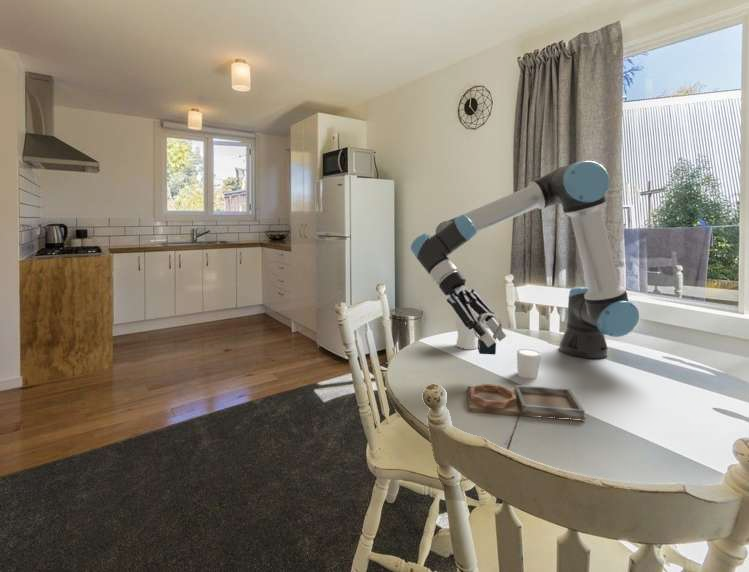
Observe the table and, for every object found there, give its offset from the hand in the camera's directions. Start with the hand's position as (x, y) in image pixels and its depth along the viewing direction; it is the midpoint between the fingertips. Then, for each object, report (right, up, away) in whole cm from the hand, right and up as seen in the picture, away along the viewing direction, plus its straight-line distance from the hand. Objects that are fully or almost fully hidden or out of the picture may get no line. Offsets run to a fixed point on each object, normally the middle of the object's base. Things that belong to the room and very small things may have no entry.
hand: (497, 341), depth 115 cm
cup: (-1, -7, +36) cm, 37 cm away
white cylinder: (+11, -11, +9) cm, 18 cm away
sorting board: (+3, -14, -11) cm, 18 cm away
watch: (-2, -3, +3) cm, 5 cm away
